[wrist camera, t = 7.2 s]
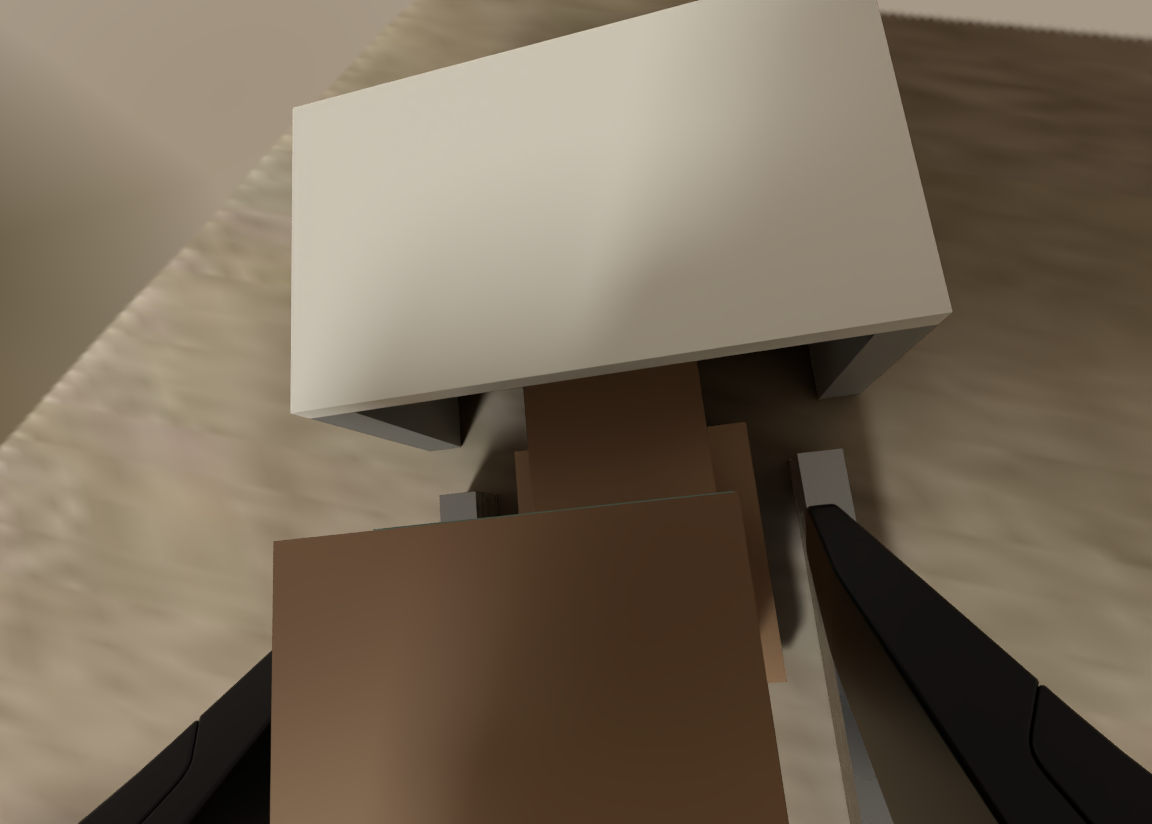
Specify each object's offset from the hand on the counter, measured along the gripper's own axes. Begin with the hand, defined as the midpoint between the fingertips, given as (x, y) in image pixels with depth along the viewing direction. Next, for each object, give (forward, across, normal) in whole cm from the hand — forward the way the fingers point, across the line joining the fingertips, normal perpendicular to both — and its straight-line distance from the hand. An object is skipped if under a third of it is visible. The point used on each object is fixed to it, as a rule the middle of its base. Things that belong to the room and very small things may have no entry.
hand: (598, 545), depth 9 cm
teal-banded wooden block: (+4, 0, +4) cm, 6 cm away
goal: (+9, 0, 0) cm, 9 cm away
